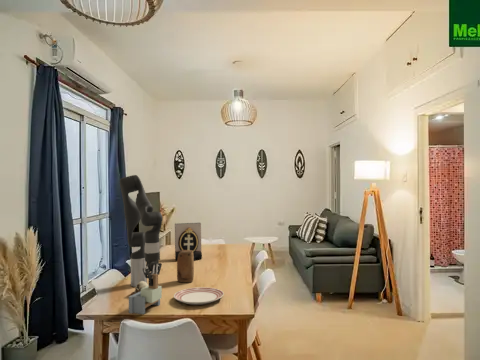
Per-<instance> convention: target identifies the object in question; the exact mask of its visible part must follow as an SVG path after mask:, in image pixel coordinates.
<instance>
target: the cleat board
mask: <svg viewBox="0 0 480 360" xmlns="http://www.w3.org/2000/svg"><path fill="white" fill-rule="evenodd" d="M151 305H152V306H158V307H159V306H160V305H161V298H160V299H159V300H157V301H155V302H153V303H149V302H145V297H141V291H140V292H138V293H136V294H134V295H131V294H130V296H128V314H140V315H144V314H146V309H147V308H149V307H150V306H151Z"/></svg>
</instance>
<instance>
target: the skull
mask: <svg viewBox="0 0 480 360" xmlns="http://www.w3.org/2000/svg"><path fill="white" fill-rule="evenodd" d="M146 286H149V283H148V282H147V283H146V282H145V281H141V282H139V283H138V284H137V286H136V287H134V291H132V292H131V293H130V296H131V295H134V294H136V293H138V292H140V291H141V289H142V288H144V287H146Z"/></svg>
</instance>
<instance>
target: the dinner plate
mask: <svg viewBox="0 0 480 360" xmlns="http://www.w3.org/2000/svg"><path fill="white" fill-rule="evenodd" d="M224 295H225V293H224V291H223V290H221V289H218V288H214V287H203V286H202V287H199V286H198V287H190V288H184V289H181V290H179V291H176V292H175V293H174V294H173V298H174V299H175V300H177V301H178V302H180V303H184V304H187V305H191V306H192V305H193V306H200V305H208V304H211V303H213V302H216V301H218V300H220V299H221V298H222V297H223V296H224Z"/></svg>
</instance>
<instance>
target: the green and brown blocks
mask: <svg viewBox="0 0 480 360" xmlns="http://www.w3.org/2000/svg"><path fill="white" fill-rule="evenodd" d="M150 275H151V274H150ZM162 288H163V286H162V285H159V275H158V274H153V286H146V287H144V288H142V289H141V297H145V302H149V303H153V302H155V301H157V300H159V299H160V300H161V299H162V297H163V295H162V293H163V291H162V290H163V289H162Z"/></svg>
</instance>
